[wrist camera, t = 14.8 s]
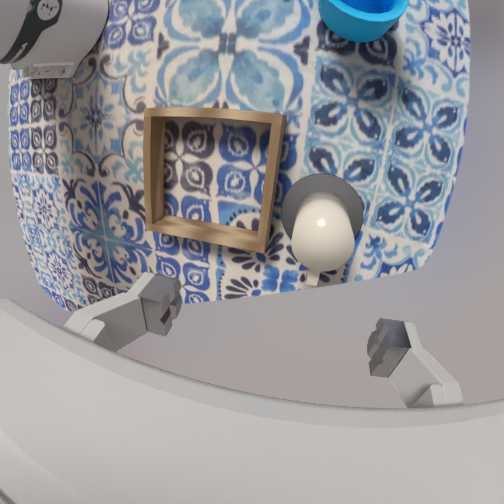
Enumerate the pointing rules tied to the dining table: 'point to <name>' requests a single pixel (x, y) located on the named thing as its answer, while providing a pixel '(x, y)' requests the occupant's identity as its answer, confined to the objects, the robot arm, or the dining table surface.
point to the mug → (361, 17)
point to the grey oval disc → (321, 183)
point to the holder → (196, 228)
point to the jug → (322, 234)
